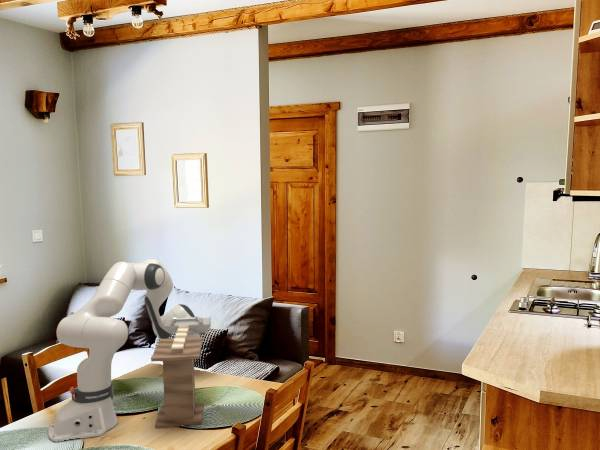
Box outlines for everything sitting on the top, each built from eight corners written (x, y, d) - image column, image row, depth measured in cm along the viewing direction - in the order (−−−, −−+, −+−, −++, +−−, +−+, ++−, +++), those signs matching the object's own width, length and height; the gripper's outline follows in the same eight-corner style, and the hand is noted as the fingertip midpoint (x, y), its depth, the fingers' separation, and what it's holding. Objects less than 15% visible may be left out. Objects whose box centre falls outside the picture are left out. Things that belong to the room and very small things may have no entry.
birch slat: (179, 329, 208) (178, 325, 208) (189, 329, 209) (189, 325, 209) (170, 353, 179) (170, 349, 178) (182, 353, 179) (182, 348, 179)
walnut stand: (162, 405, 198) (159, 339, 196) (204, 402, 200) (202, 337, 198) (153, 432, 176) (151, 358, 174) (201, 429, 178) (199, 355, 176)
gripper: (164, 321, 228) (160, 312, 215) (211, 318, 231) (210, 310, 218) (164, 335, 225) (160, 327, 213) (211, 332, 228) (210, 325, 216)
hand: (185, 319), depth 216 cm, fingers open, 8 cm apart
